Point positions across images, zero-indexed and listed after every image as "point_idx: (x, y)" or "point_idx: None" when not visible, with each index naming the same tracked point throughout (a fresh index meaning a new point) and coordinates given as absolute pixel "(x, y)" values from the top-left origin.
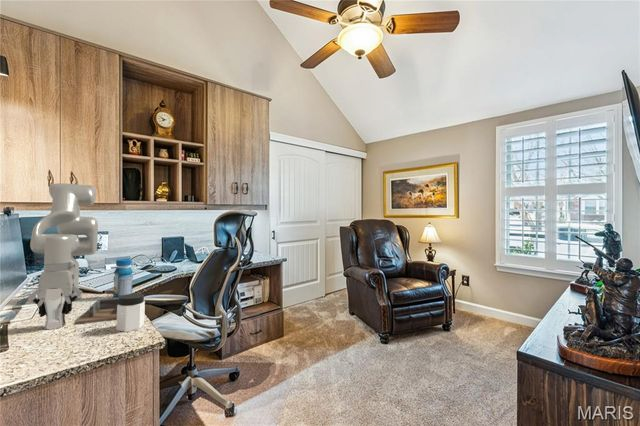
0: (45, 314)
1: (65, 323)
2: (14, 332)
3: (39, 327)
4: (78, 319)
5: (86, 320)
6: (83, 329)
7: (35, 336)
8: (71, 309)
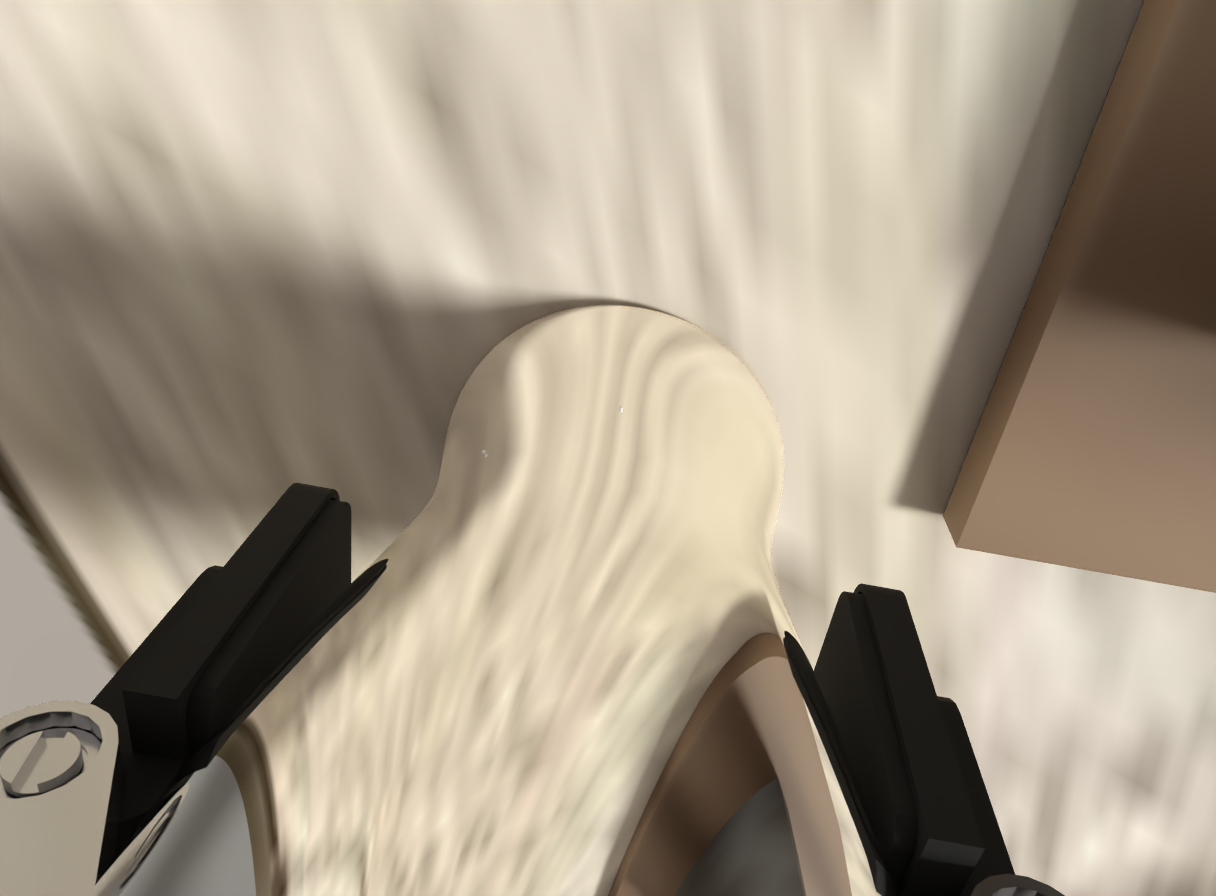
0: (349, 534)
1: (782, 488)
2: (58, 426)
3: (352, 346)
4: (1030, 406)
5: (1161, 576)
6: (1035, 827)
7: None
8: (947, 725)
